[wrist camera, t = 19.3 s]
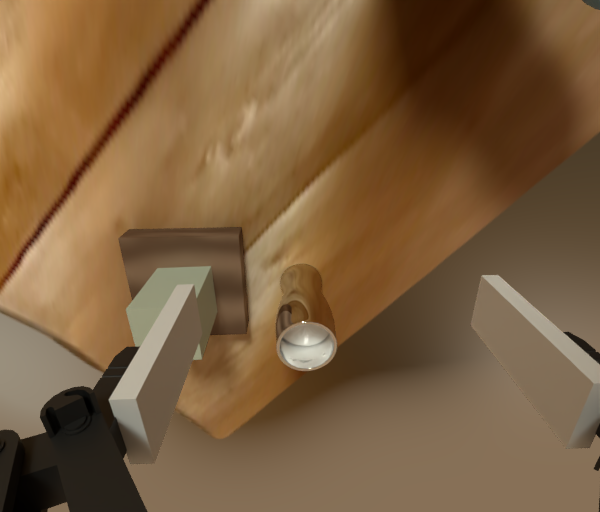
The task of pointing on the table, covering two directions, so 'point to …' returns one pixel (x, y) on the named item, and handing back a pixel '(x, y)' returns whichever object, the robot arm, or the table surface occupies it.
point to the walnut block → (193, 265)
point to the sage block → (160, 290)
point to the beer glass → (304, 321)
